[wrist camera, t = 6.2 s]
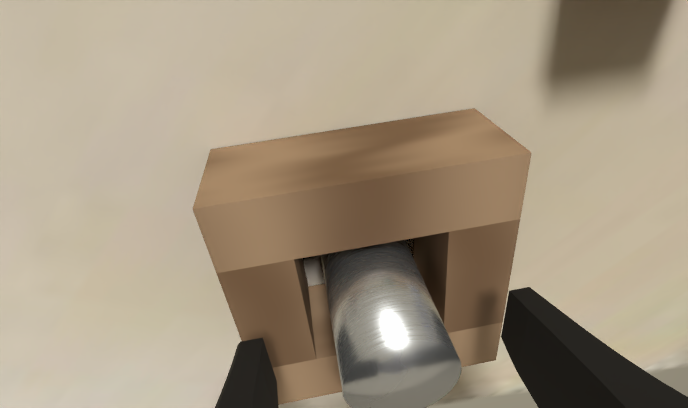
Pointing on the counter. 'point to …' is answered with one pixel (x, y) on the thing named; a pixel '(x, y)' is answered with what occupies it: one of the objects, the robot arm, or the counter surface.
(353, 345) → the pin
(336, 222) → the bored block
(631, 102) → the counter surface
